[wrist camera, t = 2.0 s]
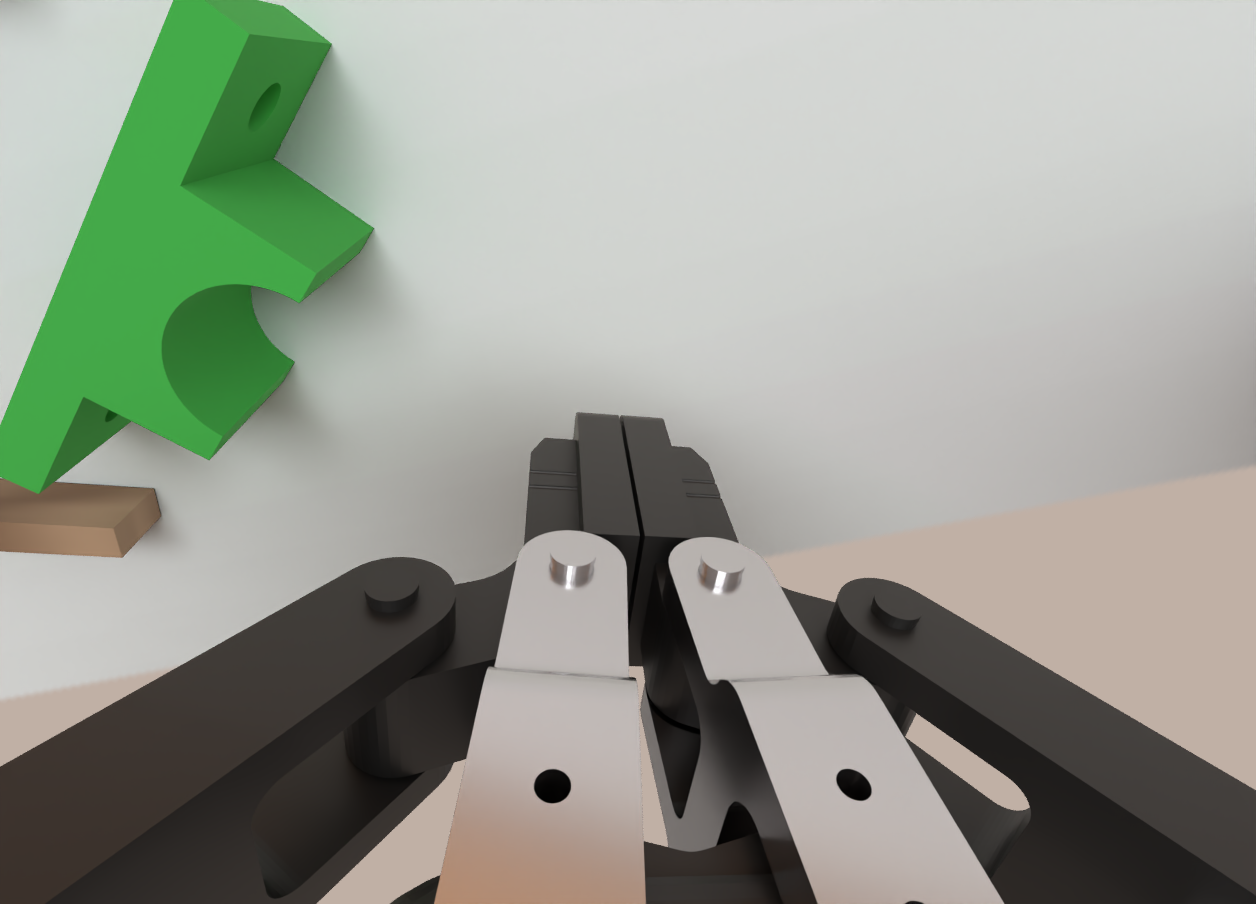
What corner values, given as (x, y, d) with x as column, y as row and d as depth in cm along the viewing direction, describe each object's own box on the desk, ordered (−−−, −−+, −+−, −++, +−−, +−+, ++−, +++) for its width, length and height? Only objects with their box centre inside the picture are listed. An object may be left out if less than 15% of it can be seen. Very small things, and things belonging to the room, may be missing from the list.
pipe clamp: (242, 453, 20) (157, 550, 16) (109, 383, 18) (-20, 470, 14) (438, 122, 16) (391, 141, 12) (286, 3, 14) (174, -21, 10)
